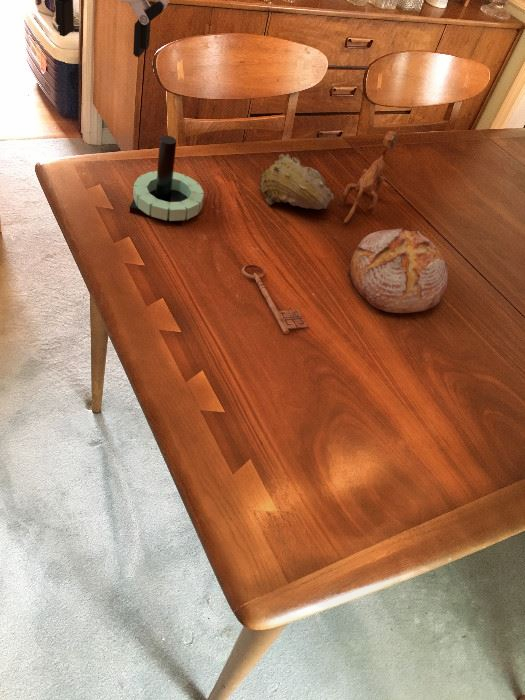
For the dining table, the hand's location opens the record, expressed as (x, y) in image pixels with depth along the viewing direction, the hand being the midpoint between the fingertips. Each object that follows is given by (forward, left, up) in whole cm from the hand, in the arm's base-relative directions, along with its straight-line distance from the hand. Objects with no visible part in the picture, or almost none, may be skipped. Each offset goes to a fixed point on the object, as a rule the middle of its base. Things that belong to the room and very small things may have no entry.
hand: (103, 43), depth 73 cm
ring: (+9, +7, -26) cm, 28 cm away
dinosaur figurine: (+43, +23, -27) cm, 56 cm away
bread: (+50, +2, -27) cm, 57 cm away
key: (+30, -10, -27) cm, 41 cm away
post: (+8, +7, -27) cm, 29 cm away
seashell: (+30, +19, -27) cm, 44 cm away
